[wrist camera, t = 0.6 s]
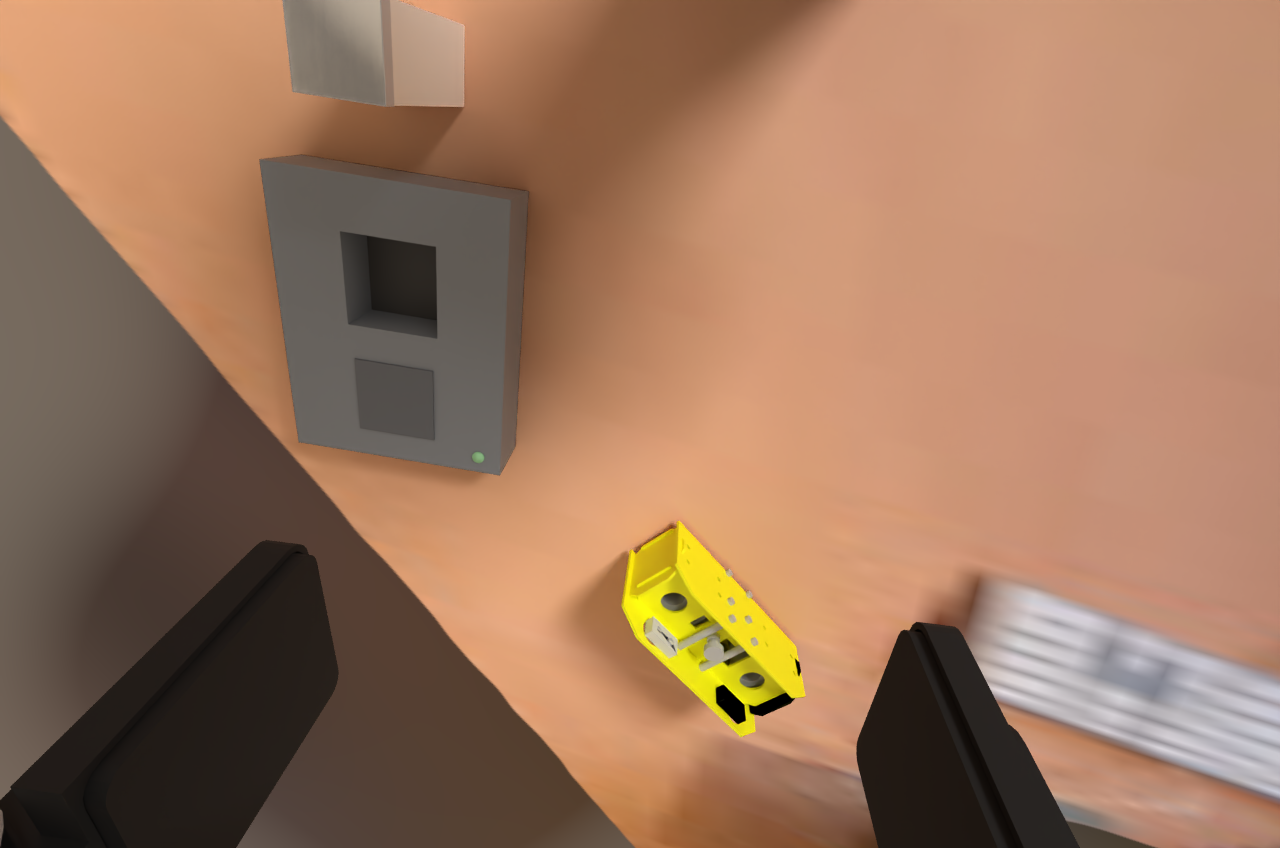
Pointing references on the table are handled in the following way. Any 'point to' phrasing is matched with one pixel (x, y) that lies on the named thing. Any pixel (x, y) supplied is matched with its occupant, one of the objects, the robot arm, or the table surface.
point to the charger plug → (375, 52)
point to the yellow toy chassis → (709, 630)
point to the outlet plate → (399, 309)
